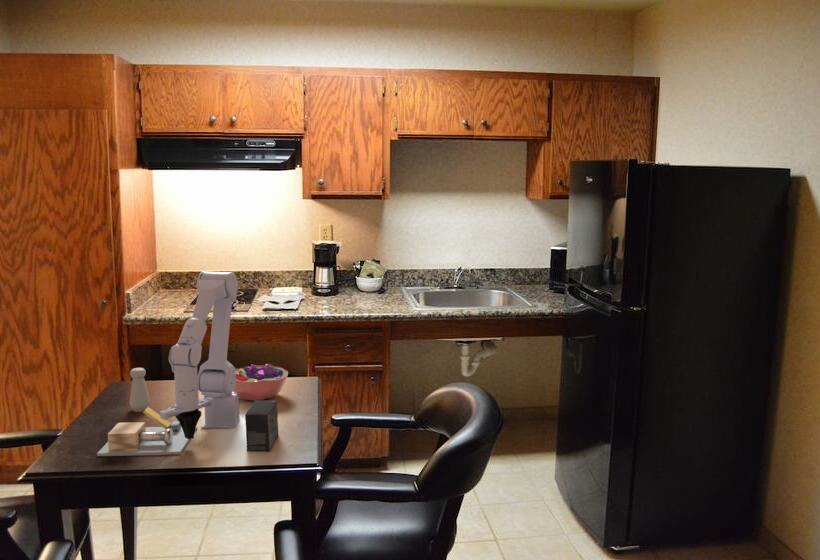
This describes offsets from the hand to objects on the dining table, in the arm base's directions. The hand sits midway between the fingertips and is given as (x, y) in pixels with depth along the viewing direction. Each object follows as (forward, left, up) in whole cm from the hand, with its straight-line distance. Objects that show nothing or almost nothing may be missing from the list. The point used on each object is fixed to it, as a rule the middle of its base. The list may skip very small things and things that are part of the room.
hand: (189, 437), depth 177 cm
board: (+11, -4, -2) cm, 12 cm away
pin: (+11, 0, -2) cm, 11 cm away
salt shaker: (+22, -28, -3) cm, 36 cm away
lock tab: (+11, -10, +1) cm, 15 cm away
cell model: (-12, -37, -3) cm, 39 cm away
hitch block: (+16, 0, -2) cm, 16 cm away
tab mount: (+6, -10, -2) cm, 12 cm away
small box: (-19, -1, -3) cm, 19 cm away
